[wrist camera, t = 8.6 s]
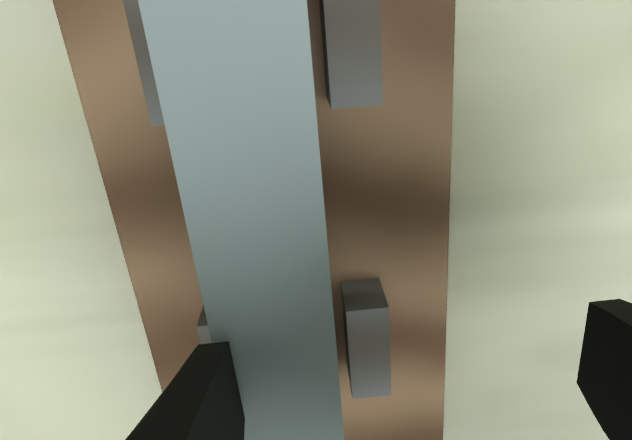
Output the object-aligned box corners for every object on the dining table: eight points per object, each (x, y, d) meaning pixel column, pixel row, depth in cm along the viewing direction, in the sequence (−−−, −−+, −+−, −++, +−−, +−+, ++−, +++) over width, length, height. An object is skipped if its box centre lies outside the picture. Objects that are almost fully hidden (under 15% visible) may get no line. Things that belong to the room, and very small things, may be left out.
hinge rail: (436, 430, 23) (491, 590, 17) (189, 456, 23) (151, 626, 17) (451, -286, 13) (610, -576, 6) (0, -245, 13) (-293, -499, 6)
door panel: (333, 376, 20) (356, 581, 13) (250, 384, 20) (228, 594, 13) (293, -56, 14) (295, -124, 7) (172, -44, 14) (41, -100, 7)
